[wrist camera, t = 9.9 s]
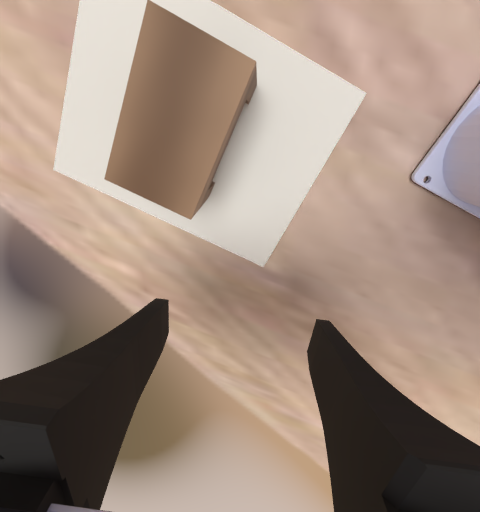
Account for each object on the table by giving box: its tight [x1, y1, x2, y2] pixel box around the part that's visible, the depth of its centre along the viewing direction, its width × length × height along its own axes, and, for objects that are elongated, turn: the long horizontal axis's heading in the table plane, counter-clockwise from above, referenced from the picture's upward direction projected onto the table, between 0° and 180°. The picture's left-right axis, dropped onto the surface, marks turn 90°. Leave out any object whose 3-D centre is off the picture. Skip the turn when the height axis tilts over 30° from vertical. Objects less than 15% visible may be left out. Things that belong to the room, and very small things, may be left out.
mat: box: [53, 0, 366, 267], centre depth 19 cm, size 18×14×1 cm
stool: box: [104, 0, 257, 220], centre depth 15 cm, size 5×8×6 cm, turn 154°
